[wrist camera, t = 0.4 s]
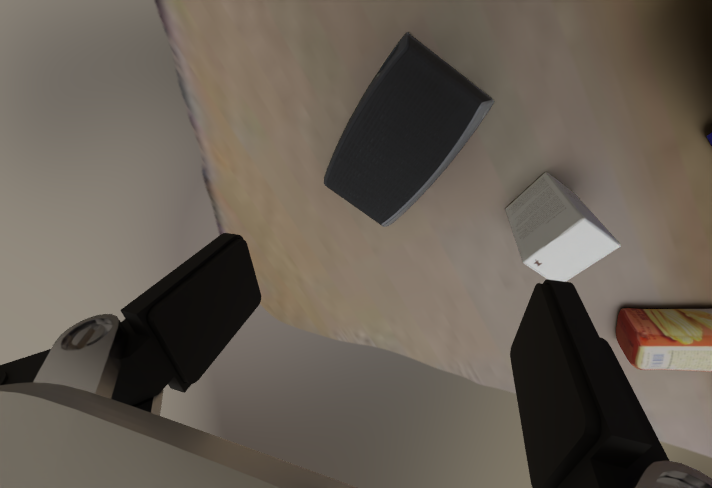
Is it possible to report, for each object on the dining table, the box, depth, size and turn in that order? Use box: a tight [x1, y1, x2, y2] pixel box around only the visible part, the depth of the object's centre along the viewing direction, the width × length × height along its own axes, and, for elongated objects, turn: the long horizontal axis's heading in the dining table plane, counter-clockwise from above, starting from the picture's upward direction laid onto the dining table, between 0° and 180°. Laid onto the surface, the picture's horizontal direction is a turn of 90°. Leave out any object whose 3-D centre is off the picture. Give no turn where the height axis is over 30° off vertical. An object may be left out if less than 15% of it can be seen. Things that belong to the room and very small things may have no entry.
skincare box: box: [505, 172, 621, 282], centre depth 30 cm, size 6×4×12 cm
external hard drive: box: [324, 32, 494, 227], centre depth 35 cm, size 13×19×4 cm
